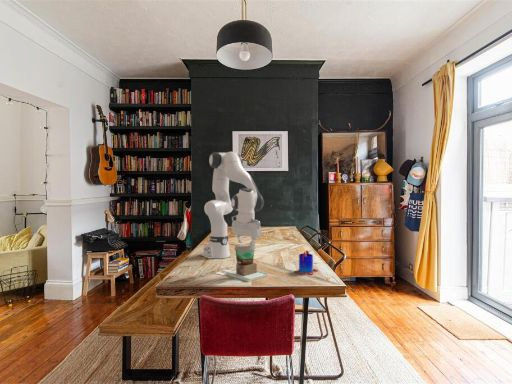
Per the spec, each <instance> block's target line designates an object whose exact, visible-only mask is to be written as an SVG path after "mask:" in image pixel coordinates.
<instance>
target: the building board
mask: <svg viewBox="0 0 512 384" xmlns="http://www.w3.org/2000/svg"><path fill="white" fill-rule="evenodd" d="M268 274H269V273H268V272H264V271H260V270H257V273H254V274H250V275H247V276H242V275H239V274H236V269H235V270H231V271H230V272H226V274H225V275H226V276H229V277H232V278H235V279H238V280H241V281H245V282H247V283H250V282H253V281H257V280H261V279H262V278H263V279H264V278H267V277H269V276H268Z"/></svg>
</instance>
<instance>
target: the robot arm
mask: <svg viewBox="0 0 512 384" xmlns="http://www.w3.org/2000/svg"><path fill="white" fill-rule="evenodd" d="M243 161H244V160H243V157H242V156H241V154H238V153H236V152H235V151H228V152H219V151H217V152H215V151H214V152H212V153H211V154H210V155H209V166H210V167H211V168H212V169H213V175H212V188H211V189H212V192H213V193H214V195H215V199H212V200H209V201H208V202H206V203H204V204H205V205H204V209H203V210H204V213H205V214H206V216H208V219H209V221H210V230H211V232H210V235H209V241H208V242H207V243H206V244H205V245H204V246H203V252H201V253H199V255H200V256H202V257H205V258H206V259H225V258H226V259H227V258H229V257H230V256H231V252H230V245H229V235H228V223H227V222H226V220H225V218H224V216H225V215H228V214H231V213H232V211H233V210H234V211H237V213H238V214H236V215H234V216H231V221H232V223H231V232H232V234H235V235H236V238H237V240H238V241H237V242H238V243H240V244H242V243H243V239H242V236H244V237H249V238H251V241H250V242H249V246H251V245H255V241H256V239H258V238H261V237H262V226H261V222H260V220H259V219H255V213H256V212H260V211H261V210H262V209H263V207H264V205H265V200H264V197H263V196H262V194H261V193H260V192H259V189H258V187H257V185H256V183H255V181H254V179H253V177H252V175H251V174H250V173H249V172H248V171H246V169H245V168H244V167H243ZM230 182H234V183H239V184H241V185H243V186H245V187H243V188H240V189H239V190H238V193H236V194H234V195H233V196H232V197H231V196H230V192H229V191H230V190H229V189H230ZM230 197H231V198H230Z"/></svg>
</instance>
